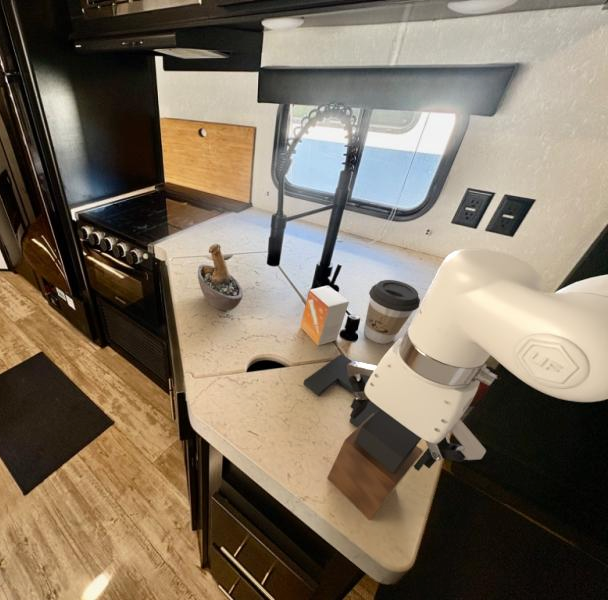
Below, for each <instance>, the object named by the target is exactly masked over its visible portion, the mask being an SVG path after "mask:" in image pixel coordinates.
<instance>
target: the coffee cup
mask: <svg viewBox="0 0 608 600" xmlns="http://www.w3.org/2000/svg"><path fill="white" fill-rule="evenodd" d="M368 295H369V301H368V307H367V313H366V318H365V322H364V327H363V333H364V336H366V338H367V339H369V341H372V342H373V343H377V344H381V345H385V344H390V343H391V342H392V341H393V340H394V339H395V338H396V337H397V335H398V334H399V332H400V331H401V329H402V328H403V326H404V325H405V324H406V322H407V321H408V319H409V318H410V316H411V315H412V313H413V312H414V311H416V310H418V309H419V307H420V305H421V299H420V297H419V292H418V291H417V290H416V288H414V287H413V286H411V285H410V284H408V283H406V282H404V281H398V280H394V279H383V280H380V281H379V282H377V283H375V284H374V285H372V286H371V289H370V290H369V292H368Z"/></svg>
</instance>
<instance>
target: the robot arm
mask: <svg viewBox="0 0 608 600" xmlns="http://www.w3.org/2000/svg"><path fill="white" fill-rule="evenodd" d="M541 288H542V277H541V275H540V273H539V272H538V270H537V269H535V267H534V266H532V265H531V264H529V263H528V262H526V261H524V260H523V259H521V258H518V257H515V256H513V255H510V254H507V253H504V252H501V251H496V250H492V249H485V248H463V249H458V250H455V251H453V252H451V253H450V254H449V255H447V256H446V257H445V259H444V260H443V261H442V263H441V264H440V266H439V268H438V270H437V271H436V274H435V275H434V277H433V280H432V282H431V284H430V285H429V287H428V289H427V290H426V292H425V295H424V297H423V299H422V301H421V302H420V304H419V307H418V308H417V311H416V313H415V315H414V316H413V318H412V321H411V322H410V324H409V327H408V329H407V330H406V332H405V334H404V336H403V337H401V338H398V339H397V340H396V341H395V342H394V343H393V345H392V346H391V347H390V348H389V349H388V350H387V351H386V353H384V355H383V356H382V358H381V359H380V361H379V362H378V364H377V365H374V364H369V363H366V362H361V361H356V360H351V361H352V362H350V363H349V364H348V365H347V369H348V374H349V376H350V378H349V382H350V384H351V386H352V389H353V391H354V393H353V394H352V397H353V400H352V402H351V404H350V408H351V409H352V410H351V413H350V415H349V417H350V418H354V419H355V418H356V417H357V416H358V415H359V414H361V413H362V412H363V411H364V410H365V408H366V406H367V404H368V402H369V400H371V401H372V402H373V403H374V404H375V405H377V406H378V407H379V408H381V409H382V410H383V411H385V412H386V413H387V414H389V415H390V416H391V417H393V418H394V419H395V420H397V421H398V422H399V423H401V424H402V425H404V426H405V427H406V428H408V429H409V430H410V431H412V432H413V433H415V434H416V435H418V436H419V437H420V438H422V439H421V440H423V441H425V443H426V446H427V448H426V450H425V451H423V453H422V454H421V455H420V457H419V458H418V459H417V461H416V462H415V463H414V465H413V468H414V469H415V471H417V472H419V471H420V470H421V469H422V467H423V466H425V467H426V468H428V469H431V467H433V465H434V464H435V463H436V462H437V461H442V460H443V459H444V460H448V461H455V462H460V463H461V462H464V461H466V460H467V461H475V460H477V461H478V460H482V459H483V458H484V456H485V455H486V453H487V449H486V448H485V447H484V445H482V443H481V442H480V441H479V439H478V438H477V437H476V436H475V434H474V433H472V431H471V430H470V429H469V427H467V426H466V425H465V423H464V422H463V421H462V419H461V418H462V417H463V415H464V414H465V412H466V411H467V410H468V409H469V407H470V406H471V403H472V402H473V400H474V398H475V396H476V395H477V392H478V389H479V387H480V383H483V384H484V385H487V386H491V384H492V383H493V382H495V380H496V378H497V377H498V375H497V374H495V373H493V372H491V370H490V369H489V368H487V367H488V364H485V363H486V362H487V361H488V360H489V358H490V356H491V357H492V358H494V359H495V360H496V361H497V362H498V363H499V364H500V365H502V366H503V367H504V368H505V369H506V370H507V371H508V372H510V373H511V374H512V375H514V376H515V377H517V378H518V379H519V380H520V381H522V382H523V383H525V384H526V385H528V386H530V387H531V388H533V389H535V390H537V391H539V392H540V393H543V394H545V395H548V396H550V397H553V398H556V399H559V400H564V401H568V402H575V403H578V402H579V403H595V402H601V401H605V400H608V274H604V275H598V276H593V277H589V278H585V279H583V280H579V281H575V282H573V283H571V284H569V285H567V286H565V287H563V288H561V289H559V290H556V291H554V292H544V291H543V290H542V289H541ZM361 374H362V375H366V376H370V378H369V380H368V382H367V383H366V384H365V382H364V380H363V378H362V376H361ZM449 433H452V435H453V436H454V438H455V439H456V440H457V441H458V442H459V443H460V444H458V443H453V442H452V443H451V442H450V439H449V436H448V435H449Z"/></svg>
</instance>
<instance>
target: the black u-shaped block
mask: <svg viewBox="0 0 608 600" xmlns="http://www.w3.org/2000/svg"><path fill="white" fill-rule="evenodd" d="M352 361H353V360H352V359H350V358H349V357H347V356H345V355H344V354H342V353H340V354H339V355H337V356H336V357H335V358H333V359H332V360H330V361H329V362H328V363H326V364H325V365H323V366H322V367H321V368H319V369H317V370H316V371H315V372H314V373H312V374H311V375H309V376H308V377H306V378H304V381H303V385H304V386H305V387H306V388H307V389H309V390H310V391H311V392H312V393H313V394H315V395H316V396H317V397H319V396H321V395H322V394H324V393H325V392H326V391H327V390H329V389H330V388H331V387H332V386H334V385H335V384H338V385H339V386H341V387H342V388H343V389H345V390H346V391H347V392H349V393H350V394H351V395H353V393H354V391H353V389H352V386H351V384H350V382H349V378H350V376H349V374H348V369H347V365H348V364H349V363H350V362H352ZM361 376H362V378H363V380H364V382H365V384H366V383H367V382H368V380H369V378H370V376H366V375H362V374H361ZM379 409H381V408H379V407H378V406H377V405H375V404H374V403H373V402H372V401H371V400H369V402H368V404H367V406H366V408H365V410H364V411H363V412H362V413H361V414H359V415H358V416H357V417H356V418H355V419H354V418H351V417H350V418H349V423H350V424H352V425H353V426H354V427H355V428H356V429H357V428H358V427H359V426H360V425H361V424H362V423H363V422H364V421H365V420H366V419H367V418H369V417H370V416H371V415H372V414H373V413H374V414H375V413H376V412H377V411H378V410H379Z"/></svg>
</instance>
